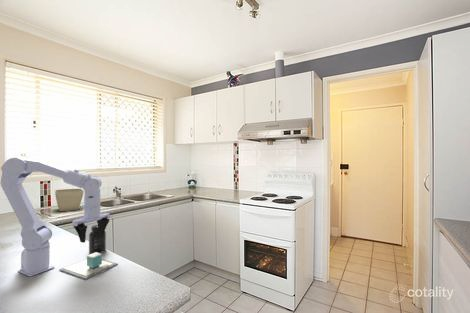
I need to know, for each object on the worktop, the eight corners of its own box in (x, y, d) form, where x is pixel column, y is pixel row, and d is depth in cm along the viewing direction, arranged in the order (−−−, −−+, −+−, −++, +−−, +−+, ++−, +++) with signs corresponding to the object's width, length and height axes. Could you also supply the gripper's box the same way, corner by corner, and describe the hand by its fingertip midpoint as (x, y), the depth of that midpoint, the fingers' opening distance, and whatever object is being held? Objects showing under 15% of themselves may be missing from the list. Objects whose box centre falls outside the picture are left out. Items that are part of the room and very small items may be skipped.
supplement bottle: (108, 248, 111) (108, 223, 112) (100, 254, 105) (101, 227, 105) (94, 248, 111) (94, 223, 111) (85, 254, 104) (85, 227, 104)
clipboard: (59, 270, 89) (59, 267, 89) (92, 257, 101) (92, 254, 101) (85, 279, 82) (85, 276, 82) (117, 264, 94) (117, 261, 94)
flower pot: (80, 206, 212) (80, 188, 212) (83, 209, 197) (83, 190, 198) (54, 209, 200) (54, 189, 200) (55, 213, 185) (55, 192, 185)
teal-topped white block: (86, 268, 89) (86, 255, 89) (95, 264, 93) (95, 252, 93) (92, 270, 88) (92, 257, 88) (101, 266, 91) (101, 253, 91)
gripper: (80, 210, 87) (79, 246, 87) (114, 204, 101) (114, 235, 100) (69, 208, 91) (68, 243, 90) (104, 202, 104) (103, 233, 103)
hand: (92, 239), depth 96 cm, fingers open, 7 cm apart
